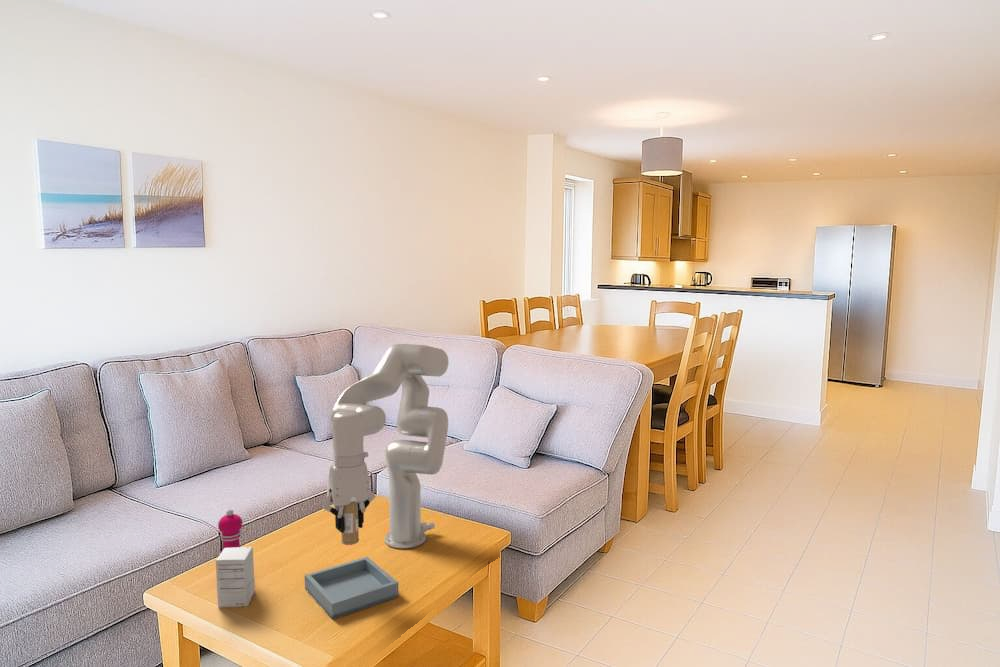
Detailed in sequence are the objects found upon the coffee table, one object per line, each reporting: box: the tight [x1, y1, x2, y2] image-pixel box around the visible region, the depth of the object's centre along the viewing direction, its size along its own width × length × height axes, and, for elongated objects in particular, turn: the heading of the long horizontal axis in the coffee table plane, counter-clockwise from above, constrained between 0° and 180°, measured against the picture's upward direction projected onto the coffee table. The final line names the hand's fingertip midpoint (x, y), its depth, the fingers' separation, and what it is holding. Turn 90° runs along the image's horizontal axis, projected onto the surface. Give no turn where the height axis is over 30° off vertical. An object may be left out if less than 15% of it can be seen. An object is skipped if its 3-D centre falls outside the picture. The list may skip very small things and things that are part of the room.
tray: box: [304, 556, 399, 620], centre depth 174 cm, size 18×18×4 cm
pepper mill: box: [217, 508, 243, 552], centre depth 179 cm, size 7×7×20 cm
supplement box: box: [215, 546, 256, 608], centre depth 169 cm, size 7×7×13 cm
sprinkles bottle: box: [340, 497, 360, 546], centre depth 171 cm, size 5×5×14 cm
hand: (349, 527), depth 172 cm, fingers closed on sprinkles bottle, 4 cm apart
